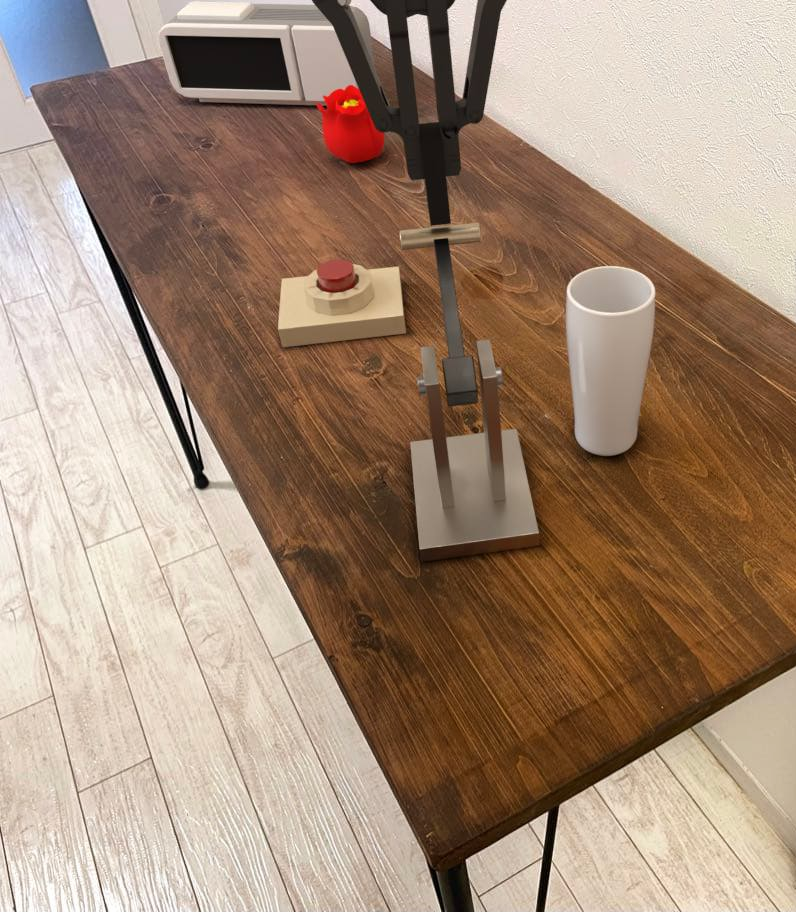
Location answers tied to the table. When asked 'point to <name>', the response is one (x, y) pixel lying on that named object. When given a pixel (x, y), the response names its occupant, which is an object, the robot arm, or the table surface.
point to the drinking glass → (608, 354)
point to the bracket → (470, 475)
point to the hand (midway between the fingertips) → (439, 215)
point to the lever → (449, 305)
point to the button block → (341, 308)
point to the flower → (350, 126)
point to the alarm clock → (257, 53)
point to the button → (336, 276)
